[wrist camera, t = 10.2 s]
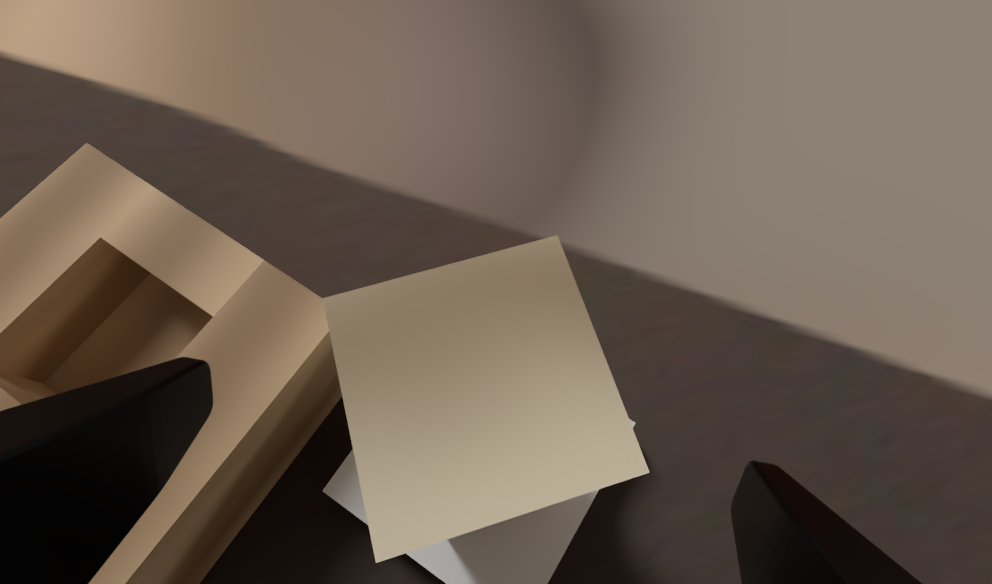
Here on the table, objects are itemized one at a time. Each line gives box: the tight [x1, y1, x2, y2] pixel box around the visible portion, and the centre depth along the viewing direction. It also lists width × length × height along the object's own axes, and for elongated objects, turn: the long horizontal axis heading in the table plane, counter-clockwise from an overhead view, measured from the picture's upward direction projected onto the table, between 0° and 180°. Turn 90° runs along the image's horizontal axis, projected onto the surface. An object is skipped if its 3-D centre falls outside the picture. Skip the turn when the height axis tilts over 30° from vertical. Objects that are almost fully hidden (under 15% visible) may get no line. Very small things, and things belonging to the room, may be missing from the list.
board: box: [323, 419, 635, 584], centre depth 20 cm, size 8×8×2 cm
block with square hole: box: [0, 143, 342, 584], centre depth 20 cm, size 12×10×5 cm
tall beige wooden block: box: [323, 235, 650, 563], centre depth 14 cm, size 4×4×12 cm
